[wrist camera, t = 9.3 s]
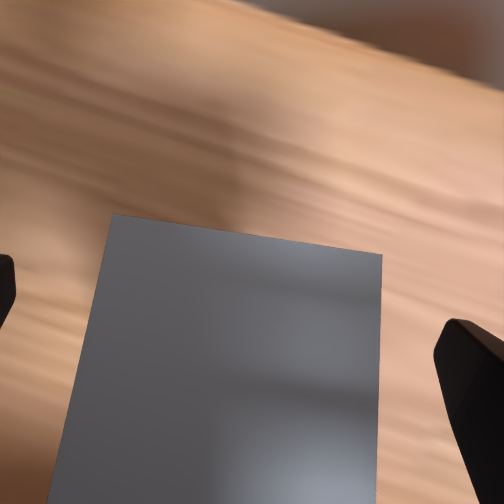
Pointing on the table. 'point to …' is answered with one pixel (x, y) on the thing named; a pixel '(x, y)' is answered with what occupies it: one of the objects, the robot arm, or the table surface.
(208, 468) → the slate post
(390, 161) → the table surface
